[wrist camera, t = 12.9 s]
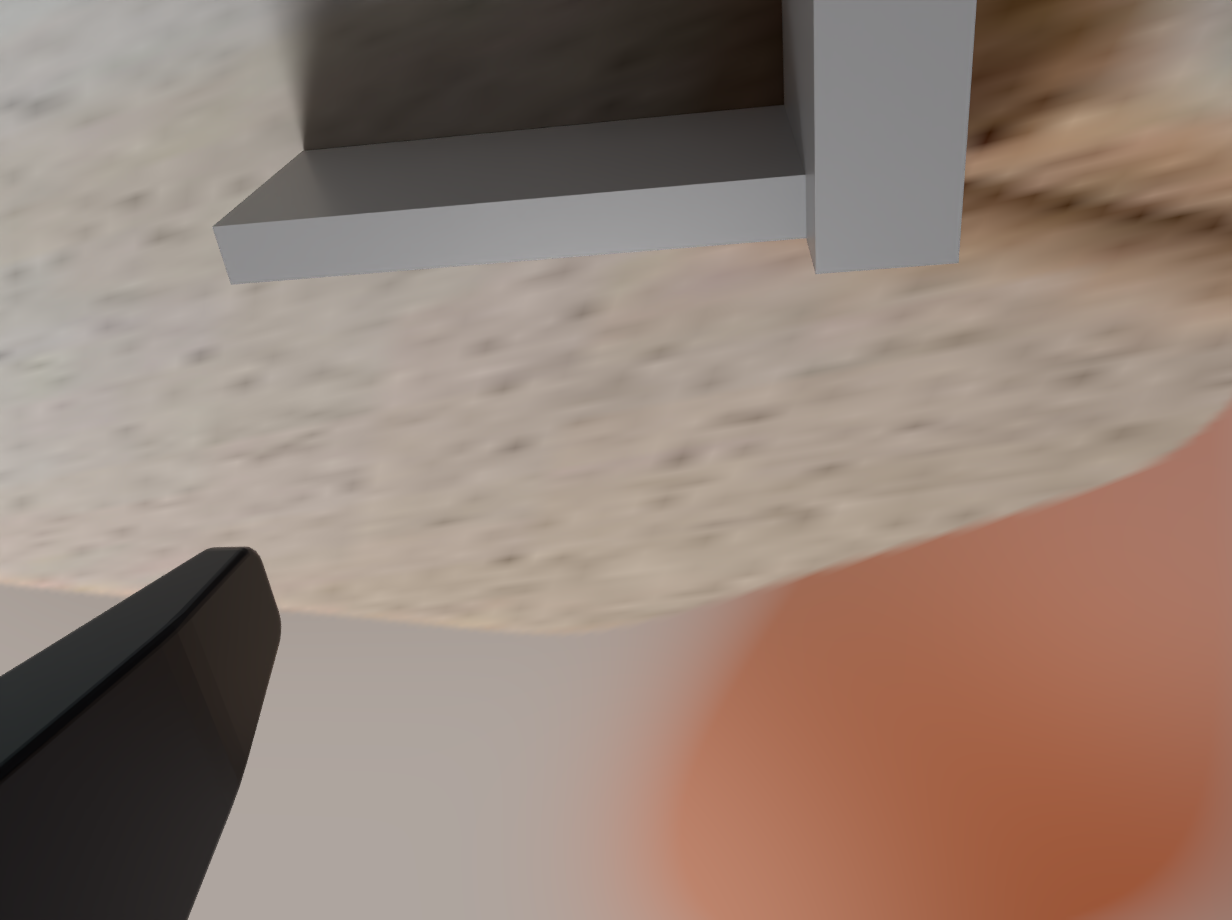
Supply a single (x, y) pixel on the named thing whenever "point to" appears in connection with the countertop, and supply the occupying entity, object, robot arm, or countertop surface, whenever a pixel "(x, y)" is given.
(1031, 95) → the countertop surface
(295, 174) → the bay
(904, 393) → the countertop surface
